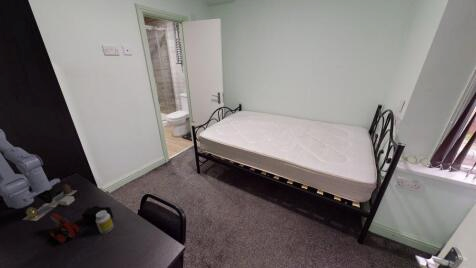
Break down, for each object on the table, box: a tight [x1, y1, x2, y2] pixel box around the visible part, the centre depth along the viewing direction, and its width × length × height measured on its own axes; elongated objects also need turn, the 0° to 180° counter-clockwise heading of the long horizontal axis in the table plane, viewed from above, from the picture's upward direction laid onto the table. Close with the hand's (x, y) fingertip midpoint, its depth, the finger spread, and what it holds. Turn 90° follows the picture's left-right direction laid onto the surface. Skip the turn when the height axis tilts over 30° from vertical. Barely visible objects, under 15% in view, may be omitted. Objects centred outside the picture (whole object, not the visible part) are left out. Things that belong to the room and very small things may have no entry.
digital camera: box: [81, 205, 114, 226], centre depth 86 cm, size 10×5×7 cm, turn 94°
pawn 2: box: [61, 184, 73, 195], centre depth 102 cm, size 4×4×6 cm
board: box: [21, 189, 78, 222], centre depth 96 cm, size 8×22×1 cm, turn 176°
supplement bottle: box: [96, 210, 115, 235], centre depth 81 cm, size 5×5×10 cm
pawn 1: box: [25, 206, 40, 221], centre depth 86 cm, size 4×4×6 cm
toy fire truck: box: [49, 212, 81, 244], centre depth 78 cm, size 7×12×10 cm, turn 67°
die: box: [59, 195, 76, 206], centre depth 96 cm, size 4×4×4 cm
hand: (49, 202), depth 87 cm, fingers closed
